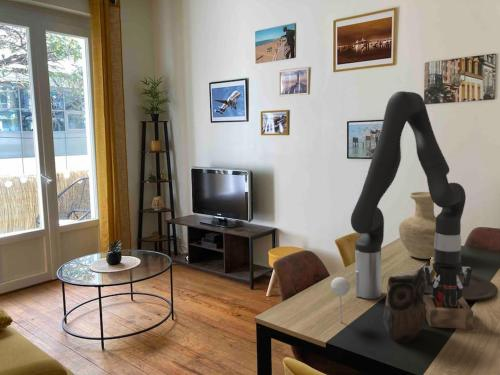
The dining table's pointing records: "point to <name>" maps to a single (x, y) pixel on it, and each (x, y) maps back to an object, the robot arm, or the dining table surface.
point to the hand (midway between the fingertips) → (446, 298)
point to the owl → (405, 305)
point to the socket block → (448, 314)
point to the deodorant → (447, 288)
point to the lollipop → (340, 288)
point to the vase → (420, 227)
